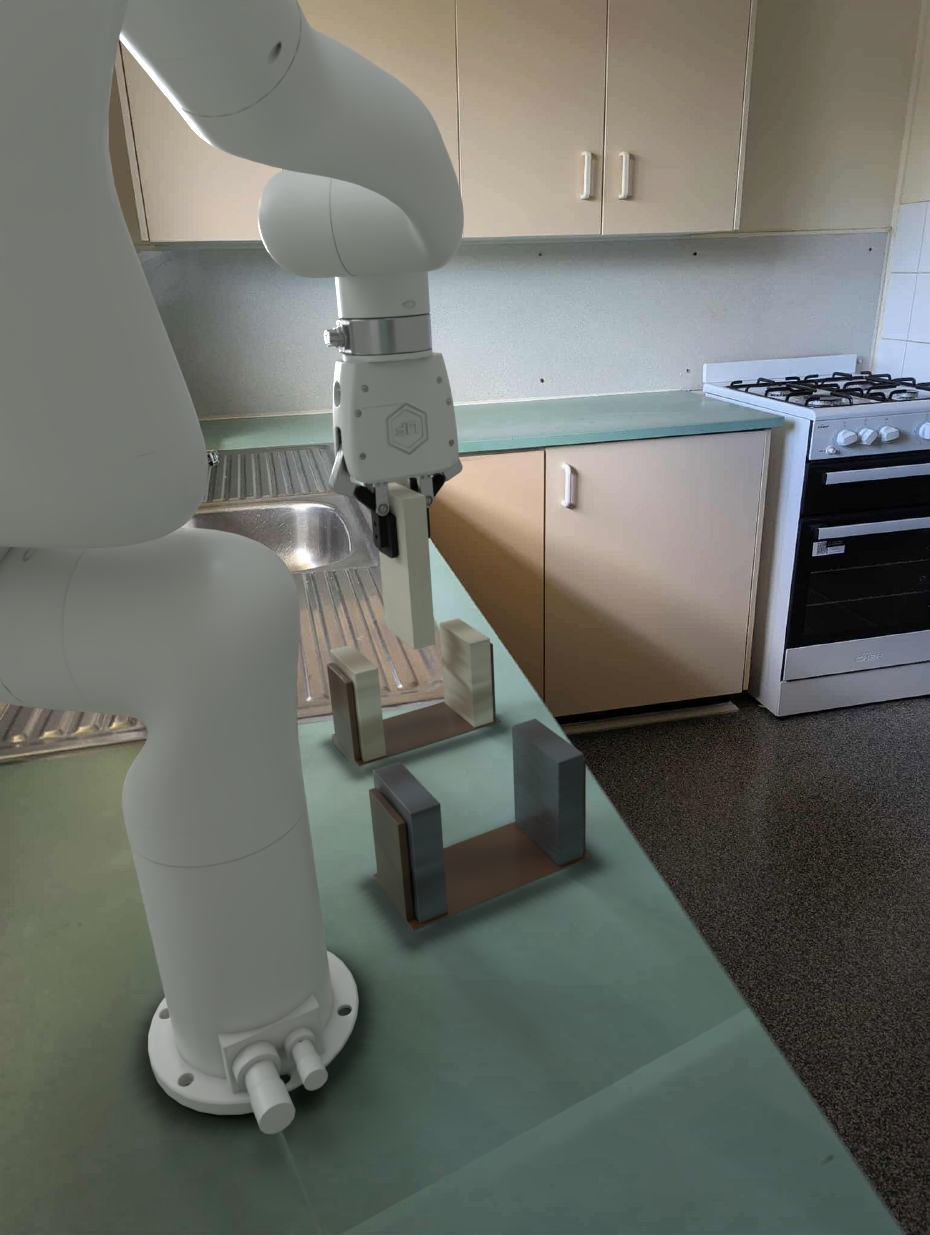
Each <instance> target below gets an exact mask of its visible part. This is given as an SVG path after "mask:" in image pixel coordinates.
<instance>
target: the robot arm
mask: <svg viewBox="0 0 930 1235" xmlns="http://www.w3.org/2000/svg"><path fill="white" fill-rule="evenodd" d="M119 42H121V43H122V44H123V45H124V47H125V48H126V49H127V51H129V53H130V54H131V55H132V56H133V57H134V59H135V61H137V63H138V64H139V65H140V66H141V67H142V68H143V70H144V71H145V72H146V74H147V75H148V76H149V78H151V80H152V81H153V82H154V83H155V85H156V86H157V87H158V88H159V89H160V91H161V92H162V94H164V96H165V97H166V98H167V100H168V101H169V102H170V104H172V105H173V107H174V108H175V110H176V111H177V112H178V113H179V115H181V117H182V118H183V119H184V121H185V122H186V123H187V125H188V126H189V128H191V130H193V132H194V133H195V134H196V135H197V136H198V137H200V138H201V139H202V140H203V141H205V142H206V143H207V144H208V145H210V146H212V147H214V148H215V149H217V150H220V151H222V152H224V153H226V154H228V155H231V156H234V157H237V158H241V159H245V160H248V161H250V162H254V163H258V164H261V165H265V166H267V167H272V168H276V169H282V170H279V171H278V172H276V173H275V174H274V175H273V176H272V177H270V179H269V180H268V181H267V182H266V184H265V186H264V188H263V189H262V191H261V194H260V196H259V201H258V205H257V225H258V231H259V234H260V238H261V241H262V243H263V245H264V248H265V250H266V251H267V253H268V254H269V256H270V257H271V259H272V260H273V261H274V262H275V263H276V264H277V265H278V266H279V267H280V268H282V269H283V270H285V271H287V272H288V273H291V274H292V275H295V276H298V277H302V278H307V279H308V278H309V279H323V278H324V279H328V278H329V279H330V278H334V280H335V292H336V301H337V311H338V313H337V314H338V319H336V326H335V327H333V329H325V330H324V333H323V337H324V342H325V345H326V347H327V348H333V347H334V348H337V349H339V353H340V354H342V355H341V356H342V358H340V359H336V360H335V365H334V375H333V389H332V390H333V391H332V434H333V449H334V459H335V461H334V463H333V467H332V470H331V474H330V478H329V481H328V485H327V487H328V489H329V490H330V491H332V492H334V493H336V494H338V495H342V496H345V497H349V498H351V499H352V498H353V499H356V500H357V501H358V502H359V503H360V504H361V505H363V506H364V507H365V508H366V509H367V510H369V511H370V515H371V516H370V517H371V527H372V528H371V529H372V537H373V544H374V546H375V547H376V548H377V549H378V552H379V551H380V552H381V553H383V554H385V555H386V556H388V557H390V558H396V557H397V556H398V555H399V550H398V538H397V525H396V516H395V515H394V514H392V513H391V511H390V506H389V488H388V481H393V480H400V479H406V478H407V483H408V488H409V489H411V490H413V491H416V492H418V493H420V494H423V495H425V496H426V510H427V525H428V540H429V539H431V521H430V518H431V517H430V508H431V507H432V506H433V505H434V502H435V497H436V496H437V494H438V493H439V491H440V490H441V489H442V488H443V486H444V485H445V483H446V482H449V481H450V480H451V479H453V478H454V477H456V476H457V475H459V474H460V473H461V472H462V471H463V464H462V462H461V459H460V457H459V438H458V429H457V420H456V414H455V412H456V411H455V406H454V399H453V393H452V387H451V382H450V379H449V375H448V370H447V367H446V363H445V362H446V361H445V360H444V356H443V353H442V352H435V351H433V334H432V319H431V318H432V317H431V304H430V288H429V287H430V286H429V285H430V284H429V273H428V272H433V271H436V270H439V269H442V268H443V267H445V266H446V265H447V264H449V263H450V262H452V260H453V258H454V257H455V256H456V254H457V252H458V250H459V248H460V245H461V244H462V243H461V242H462V240H463V234H464V228H465V226H464V224H465V214H464V203H463V197H462V193H461V188H460V184H459V181H458V177H457V174H456V171H455V168H454V164H453V161H452V159H451V158H450V157H451V156H450V155H449V152H448V149H447V147H446V144H445V142H444V138H443V136H442V134H441V132H440V129H439V126H438V125H437V122H436V120H435V118H434V117H433V115H432V113H431V111H430V109H429V108H428V107H427V106H426V105H425V103H424V102H423V101H422V100H421V98H420V97H419V96H418V95H417V94H416V93H415V92H413V90H412V89H410V88H409V87H408V86H407V85H405V84H404V83H403V82H401V81H400V80H399V79H398V78H396V77H395V76H393V75H391V74H390V73H389V72H388V71H386V70H384V69H383V68H381V67H379V65H377V64H375V63H374V62H373V61H371V60H369V59H368V58H366V57H365V56H364V55H362V54H360V53H358V52H357V51H355V50H353V49H352V48H351V47H349V46H346V45H345V44H343V43H342V42H340V41H338V40H336V39H334V38H332V37H330V36H328V35H326V34H325V33H322V32H321V31H319V30H317V29H315V28H314V27H312V26H311V25H310V23H309V21H308V20H307V17H306V15H305V13H304V12H303V9H302V7H301V5H300V3H299V1H298V0H0V703H3V704H6V705H12V706H16V707H24V708H29V709H30V708H32V709H39V710H52V711H66V712H78V713H79V712H81V713H93V714H106V715H109V716H115V717H117V716H118V717H125V718H133V719H135V720H138V721H140V722H141V723H142V724H143V725H144V726H145V728H146V732H147V733H146V740H145V743H144V745H143V747H141V749H140V751H139V752H138V753H137V755H136V757H135V758H134V760H133V761H132V763H131V765H130V767H129V769H128V771H127V772H126V774H125V775H126V776H125V778H124V782H123V785H122V792H121V793H122V794H121V808H122V816H123V822H124V827H125V830H126V835H127V839H128V840H127V841H128V842H129V845H130V850H131V854H132V859H133V863H134V867H135V871H136V876H137V880H138V884H139V889H140V893H141V898H142V902H143V907H144V911H145V916H146V920H147V924H148V925H147V926H148V928H149V933H150V938H151V942H152V946H153V950H154V955H155V959H156V964H157V968H158V972H159V976H160V981H161V986H162V990H163V993H164V998H163V999H162V1000H161V1002H160V1003H159V1005H158V1007H157V1008H156V1011H155V1012H154V1015H153V1016H152V1019H151V1023H150V1027H149V1029H148V1030H149V1031H148V1036H147V1052H148V1056H149V1057H148V1058H149V1061H150V1062H149V1063H150V1067H151V1070H152V1072H153V1075H154V1077H155V1079H156V1081H157V1084H158V1085H159V1086H160V1087H161V1088H162V1090H163V1091H164V1092H165V1094H167V1096H168V1097H170V1098H171V1099H173V1100H175V1102H177V1103H179V1104H181V1106H184V1107H186V1108H189V1109H192V1110H194V1111H195V1112H200V1113H206V1114H212V1115H216V1116H229V1115H230V1116H235V1115H236V1116H237V1115H238V1116H241V1115H245V1114H251V1113H253V1114H254V1117H255V1119H256V1122H257V1125H258V1128H259V1130H260V1132H262V1133H263V1134H265V1135H276V1134H278V1133H280V1132H283V1131H284V1130H285V1129H286V1128H287V1127H289V1126H290V1125H291V1124H292V1122H293V1120H294V1119H295V1117H296V1116H295V1115H296V1107H295V1105H294V1103H293V1101H292V1099H291V1098H292V1097H291V1096H290V1093H289V1092H291V1091H293V1090H295V1089H297V1088H299V1087H300V1086H302V1085H303V1087H304V1088H305V1090H307V1091H310V1092H313V1091H315V1090H318V1089H320V1088H321V1087H323V1086H324V1085H325V1084H326V1082H327V1081H328V1078H329V1072H328V1071H327V1069H326V1067H327V1066H329V1065H330V1063H332V1061H333V1060H335V1058H336V1057H337V1056H338V1055H339V1053H340V1052H341V1051H342V1050H343V1048H344V1047H345V1045H346V1043H347V1041H348V1040H349V1038H350V1036H351V1035H352V1033H353V1030H354V1027H355V1025H356V1022H357V1019H358V1013H359V1004H360V1001H359V1000H360V999H359V991H358V985H357V982H356V980H355V978H354V975H353V973H352V972H351V971H350V969H349V968H348V966H347V965H346V964H345V962H344V961H343V960H342V959H340V958H339V957H337V955H336V954H334V953H333V952H331V951H329V950H327V949H328V948H327V942H326V934H325V926H324V921H323V920H324V919H323V914H322V906H321V897H320V891H319V882H318V876H317V869H316V860H315V854H314V847H313V846H314V845H313V840H312V831H311V824H310V816H309V809H308V803H307V796H306V789H305V782H304V775H303V767H302V766H303V765H302V758H301V748H300V747H301V746H300V739H299V725H298V724H299V723H298V674H299V671H298V670H299V655H300V641H301V640H300V639H301V605H300V604H301V603H300V596H299V591H298V587H297V583H296V580H295V578H294V576H293V573H292V571H290V568H289V567H288V566H287V564H286V563H285V562H284V560H283V559H282V558H281V557H280V556H279V555H278V554H277V553H276V552H275V551H274V550H272V549H271V548H269V547H268V546H266V545H264V544H263V543H261V542H259V541H257V540H254V539H252V538H249V537H247V536H244V535H241V534H237V533H234V532H228V531H225V530H224V531H223V530H219V529H209V528H201V527H200V528H199V527H184V526H185V525H186V524H187V523H188V522H189V521H190V520H191V519H192V518H193V517H194V516H195V514H196V513H197V511H198V510H199V509H200V507H201V505H202V503H203V501H204V500H205V496H206V493H207V489H208V482H209V480H208V478H209V457H208V453H207V447H206V441H205V438H204V434H203V431H202V428H201V423H200V421H199V418H198V417H199V416H198V414H197V410H196V407H195V405H194V402H193V399H192V396H191V394H190V391H189V388H188V385H187V383H186V380H185V378H184V377H185V376H184V375H183V372H182V370H181V367H180V364H179V361H178V359H177V356H176V353H175V351H174V348H173V345H172V343H171V341H170V338H169V335H168V332H167V329H166V327H165V325H164V321H163V319H162V316H161V314H160V311H159V309H158V305H157V304H156V300H155V298H154V295H153V293H152V291H151V287H150V285H149V282H148V279H147V277H146V275H145V270H144V269H143V266H142V263H141V260H140V258H139V256H138V253H137V250H136V248H135V245H134V243H133V239H132V236H131V234H130V231H129V228H128V225H127V222H126V219H125V217H124V213H123V210H122V206H121V202H120V200H119V194H118V192H117V187H116V185H115V178H114V173H113V166H112V160H111V159H112V158H111V153H110V120H109V118H110V117H109V116H110V114H109V113H110V112H109V111H110V103H111V94H112V84H113V76H114V70H115V64H116V60H117V52H118V48H119ZM351 478H354V479H355V480H356V481H357V482H353V481H352V480H351ZM358 482H359V483H358ZM360 483H363V485H362V484H360ZM345 1008H347V1009H349V1010H351V1011H350V1012H349V1013H348V1014H347V1015H340V1014H339V1012H340V1010H342V1009H345ZM281 1076H288V1077H289V1078H290V1079H289V1081H288V1082H287V1083H285V1082H284V1080H283V1079H282V1078H281Z"/></svg>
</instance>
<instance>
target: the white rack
mask: <svg viewBox="0 0 930 1235" xmlns="http://www.w3.org/2000/svg"><path fill="white" fill-rule="evenodd" d="M439 637H440V638H439V640H440V653H441V670H442V684H443V685H442V686H443V700H444V701H442V702H439V703H435V704H434V703H433V704H431V705H428V706H424V707H421V708H418V709H417V708H416V709H414V710H411V711H407V712H403V713H400V714H397V715H394V716H390V717H386V718H383V709H382V708H383V707H382V698H381V686H380V685H381V684H380V675H379V668H378V667H377V666H376V665H375V664H374V663H373V662H372V661H371V660H369V659H368V658H367V657H366V656H365V655H364V654H363V653H361V651H359V650H358V649H357V648H356V647H355V646H354V645H352V644H349V645H344V646H341V647H336V648H332V649H329V654H330V662H329V663H327V664H326V670H327V677H328V686H329V696H330V703H331V713H332V719H333V721H332V722H333V729H334V733H332V734H331V738H332V744H333V745H334V746H335V748H337V749H338V751H339V752H340V753H341V754H342V756H343V757H344V758H345V759H346V761H347V762H348V761H352V760H353V761H354V763H355V764H356V765H357V766H358V767H361V766H365V765H367V764H371V763H374V762H377V761H380V760H383V759H386V758H390V757H393V756H396V755H400V754H402V753H406V752H409V751H412V750H416V749H418V748H422V747H424V746H428V745H432V744H434V743H438V742H441V741H444V740H448V739H450V738H451V739H452V738H453V737H457V736H460V735H463V734H464V735H465V734H466V733H470V732H473V731H476V730H479V729H483V728H485V727H488V726H493V725H495V724H498V723H501V720H500V719H498V717H497V713H496V712H497V711H496V709H497V708H496V686H495V660H494V644H493V643H492V642H491V638H490V637H488V636H486V635H485V634H483V633H482V632H481V631H479V630H478V629H476V628H474V627H473V626H471V625H470V624H468V623H466V622H465V621H463V619H461V618H457V617H456V618H454V619H449V620H446V621H442V622H439Z"/></svg>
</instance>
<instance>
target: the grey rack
mask: <svg viewBox="0 0 930 1235" xmlns="http://www.w3.org/2000/svg"><path fill="white" fill-rule="evenodd" d="M511 733H512V734H511V737H512V738H511V739H512V740H511V741H512V771H513V773H512V774H513V795H514V796H513V802H514V821H513V822H510V823H508V824H505V825H502V826H500V827H497V828H494V829H492V830H488V831H486V832H484V833H483V832H482V833H481V834H478V835H475V836H472V837H470V838H467V839H464V840H462V841H459V842H457V843H454V844H451V845H449V846H446V847H444V837H443V822H442V809H441V808H442V807H441V803H440V802H439V801H438V800H437V798H435V796H433V794H432V793H431V792H429V790H428V789H427V788H426V786H425V785H423V784H422V782H420V781H419V779H418V778H417V777H416V776H414V774H413V773H412V772H411V771H410V770H409V769H408V768H407V767H406V766H405V765H404V764H403V763H402V762H401V761H398V762H395V763H394V762H393V763H391V764H388V765H385V766H383V767H382V766H381V767H379V768H375V769H373V770H372V776H373V785H374V786H373V788H370V789H368V798H369V806H370V817H371V825H372V833H373V834H372V836H373V843H374V844H373V846H374V854H375V863H376V865H375V866H376V873H374V874H373V875H372V876H373V877H374V879H375V880H376V882H377V883H378V884H379V886H380V887H381V888H382V890H383V891H384V893H385V894H386V895H387V897H388V898H389V900H390V902H391V903H392V904H393V906H394V907H395V908H396V910H397V911H398V912H399V914H400V915H401V917H402V918H403V919H404V921H405V922H406V923H407V925H408V926H409V928H410V929H411V931H412V932H415V931H416V930H419V929H421V928H424V927H426V926H428V925H431V924H434V923H436V922H438V921H439V922H440V921H441V920H443V919H446V918H447V917H450V916H453V915H456V914H457V913H458V914H459V913H460V912H463V911H465V910H468V909H469V908H472V907H475V906H477V905H479V904H483V903H485V902H487V901H490V900H491V899H495V898H497V897H499V896H501V895H504V894H506V893H510V892H512V891H513V890H516V889H519V888H521V887H523V886H526V885H528V884H531V883H533V882H536V881H537V880H540V879H542V878H545V877H547V876H550V875H552V874H554V873H557V872H560V871H562V870H564V869H567V868H569V867H572V866H575V865H576V864H579V863H582V862H584V861H587V860H590V859H591V858H593V857H594V855H593V854H592V853H591V852H589V851H588V850H587V848H586V844H587V843H586V842H587V841H586V838H587V837H586V836H587V835H586V834H587V833H586V832H587V831H586V823H587V822H586V821H587V820H586V819H587V818H586V817H587V816H586V815H587V814H586V813H587V812H586V810H587V808H586V807H587V798H586V797H587V788H586V787H587V778H586V777H587V773H586V772H587V758H586V757H585V756H584V755H585V754H584V753H583V752H582V751H581V750H579V749H577V748H576V747H575V746H574V745H572V744H571V743H569V742H568V741H567V740H566V739H564V738H562V737H561V736H560V735H558V734H557V733H556V732H555V731H553V730H552V729H550V728H549V727H548V726H546V725H545V724H543V723H542V722H541V721H540V720H538V719H537V718H532V719H530V720H527V721H524V722H521V723H517V724H515V725H512V726H511Z"/></svg>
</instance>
